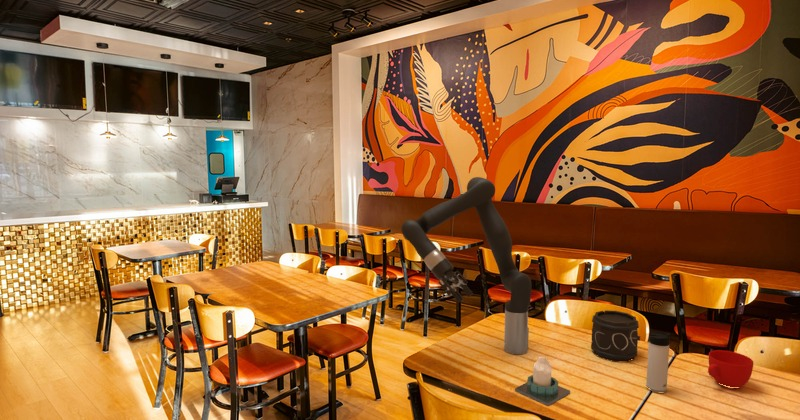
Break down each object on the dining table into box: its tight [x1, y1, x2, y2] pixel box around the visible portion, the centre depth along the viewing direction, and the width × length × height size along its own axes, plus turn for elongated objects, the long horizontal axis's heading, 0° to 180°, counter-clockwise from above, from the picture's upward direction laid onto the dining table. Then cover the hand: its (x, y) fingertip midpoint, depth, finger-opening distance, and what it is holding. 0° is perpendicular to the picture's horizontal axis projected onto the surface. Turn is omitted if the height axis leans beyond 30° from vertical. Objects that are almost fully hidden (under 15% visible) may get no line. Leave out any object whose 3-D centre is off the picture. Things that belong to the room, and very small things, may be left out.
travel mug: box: [645, 331, 672, 393], centre depth 166 cm, size 6×7×20 cm
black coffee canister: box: [590, 309, 641, 362], centre depth 196 cm, size 18×18×16 cm
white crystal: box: [532, 356, 553, 387], centre depth 164 cm, size 6×12×6 cm
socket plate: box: [514, 374, 571, 407], centre depth 165 cm, size 13×13×4 cm
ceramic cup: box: [707, 349, 754, 388], centre depth 169 cm, size 13×17×10 cm
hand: (466, 298), depth 176 cm, fingers open, 8 cm apart
